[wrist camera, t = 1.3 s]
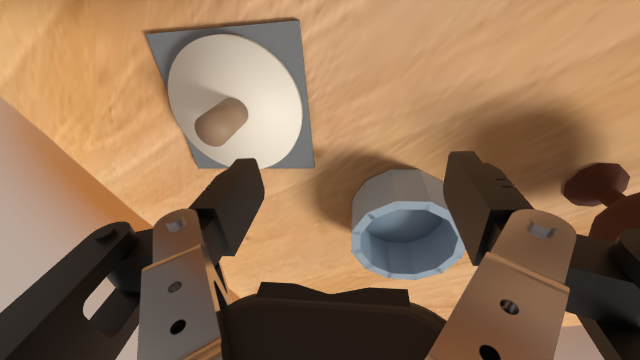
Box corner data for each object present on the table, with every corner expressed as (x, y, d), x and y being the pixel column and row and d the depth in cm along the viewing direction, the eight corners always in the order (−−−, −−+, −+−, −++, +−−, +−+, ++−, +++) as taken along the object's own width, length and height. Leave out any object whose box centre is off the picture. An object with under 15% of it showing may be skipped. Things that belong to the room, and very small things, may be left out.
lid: (152, 39, 25) (98, 48, 20) (293, 27, 23) (273, 33, 18) (200, 165, 33) (170, 194, 28) (309, 164, 30) (299, 196, 25)
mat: (149, 33, 25) (145, 34, 25) (299, 20, 23) (298, 20, 22) (200, 166, 33) (198, 168, 33) (314, 165, 31) (313, 168, 31)
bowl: (352, 169, 31) (350, 200, 26) (460, 169, 29) (480, 202, 24) (352, 240, 37) (351, 276, 32) (441, 244, 36) (454, 282, 31)
